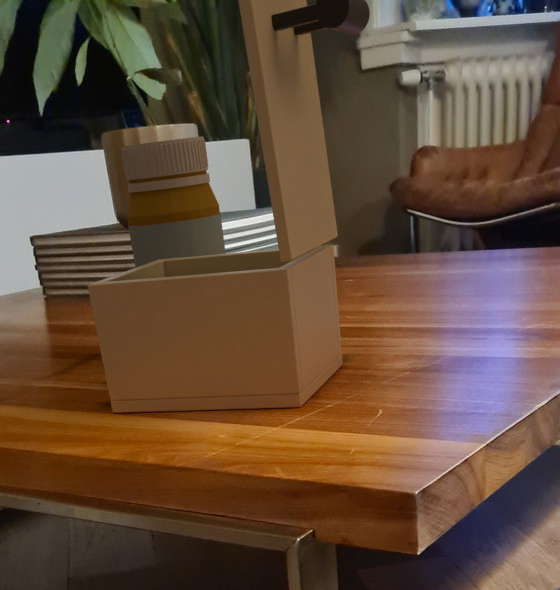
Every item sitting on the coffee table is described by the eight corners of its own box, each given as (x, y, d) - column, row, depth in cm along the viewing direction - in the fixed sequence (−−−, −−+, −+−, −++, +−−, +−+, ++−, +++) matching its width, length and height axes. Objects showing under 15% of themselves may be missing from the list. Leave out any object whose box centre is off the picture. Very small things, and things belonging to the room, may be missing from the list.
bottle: (253, 345, 73) (227, 133, 66) (176, 364, 69) (140, 143, 63) (210, 337, 78) (181, 140, 71) (136, 355, 75) (99, 149, 68)
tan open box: (112, 413, 58) (86, 285, 55) (176, 372, 67) (158, 259, 64) (300, 407, 54) (287, 268, 51) (343, 364, 63) (333, 244, 60)
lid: (233, -26, 45) (329, -52, 43) (294, -6, 54) (375, -27, 52) (280, 262, 51) (366, 248, 49) (328, 238, 60) (402, 226, 58)
